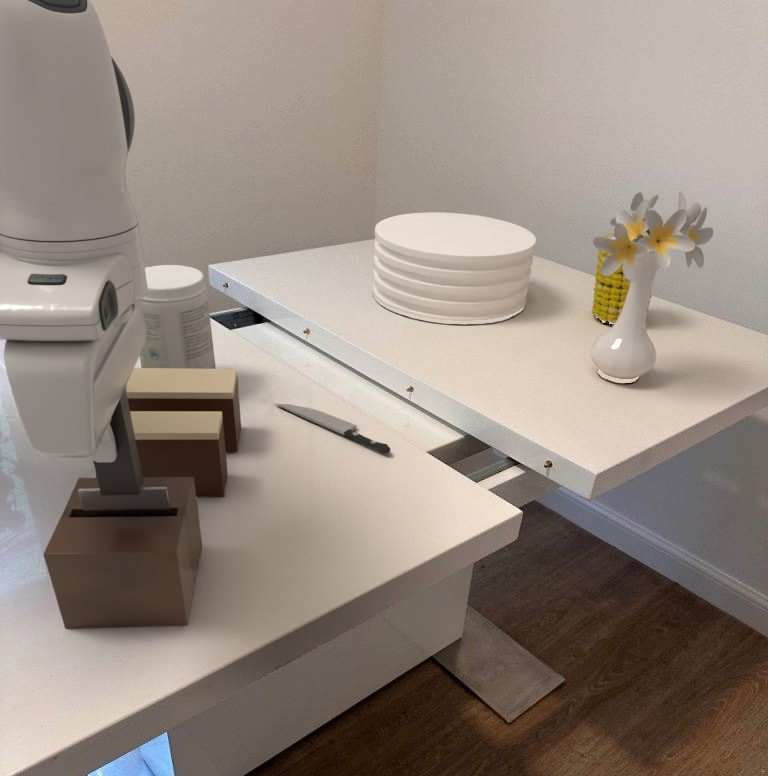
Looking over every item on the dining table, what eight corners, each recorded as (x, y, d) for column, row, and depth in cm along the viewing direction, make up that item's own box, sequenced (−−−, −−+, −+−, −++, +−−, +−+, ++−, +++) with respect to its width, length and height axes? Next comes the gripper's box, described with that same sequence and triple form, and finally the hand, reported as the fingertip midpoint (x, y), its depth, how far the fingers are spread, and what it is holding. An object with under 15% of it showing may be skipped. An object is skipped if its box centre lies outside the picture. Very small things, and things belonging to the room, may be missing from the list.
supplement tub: (210, 366, 102) (200, 261, 94) (222, 395, 95) (212, 285, 87) (140, 373, 99) (123, 266, 91) (146, 403, 92) (128, 290, 84)
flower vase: (553, 386, 103) (591, 201, 88) (598, 347, 115) (638, 179, 101) (642, 414, 97) (698, 220, 82) (679, 369, 110) (734, 195, 95)
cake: (131, 453, 82) (120, 391, 78) (141, 427, 87) (131, 367, 83) (237, 453, 84) (232, 392, 79) (241, 427, 89) (236, 368, 84)
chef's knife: (289, 399, 96) (273, 405, 94) (289, 391, 95) (273, 397, 93) (402, 449, 86) (386, 457, 84) (403, 440, 86) (387, 448, 83)
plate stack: (410, 264, 147) (414, 205, 140) (543, 290, 137) (554, 227, 131) (345, 304, 126) (346, 236, 119) (496, 337, 117) (507, 266, 110)
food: (646, 339, 123) (586, 335, 125) (642, 302, 131) (586, 299, 133) (668, 257, 112) (602, 253, 114) (663, 221, 120) (601, 219, 121)
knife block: (64, 628, 60) (43, 554, 55) (95, 547, 68) (79, 477, 64) (187, 625, 61) (176, 551, 56) (202, 546, 69) (193, 476, 65)
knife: (99, 589, 63) (48, 394, 52) (104, 575, 65) (55, 382, 54) (180, 587, 64) (146, 393, 53) (183, 572, 66) (151, 382, 54)
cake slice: (107, 498, 75) (93, 432, 71) (116, 474, 79) (104, 410, 74) (224, 497, 76) (217, 432, 72) (227, 473, 80) (222, 411, 75)
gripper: (68, 226, 56) (100, 387, 64) (-30, 323, 40) (29, 523, 48) (151, 228, 57) (172, 387, 65) (88, 325, 40) (127, 522, 48)
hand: (111, 446), depth 56 cm, fingers closed on knife, 2 cm apart
